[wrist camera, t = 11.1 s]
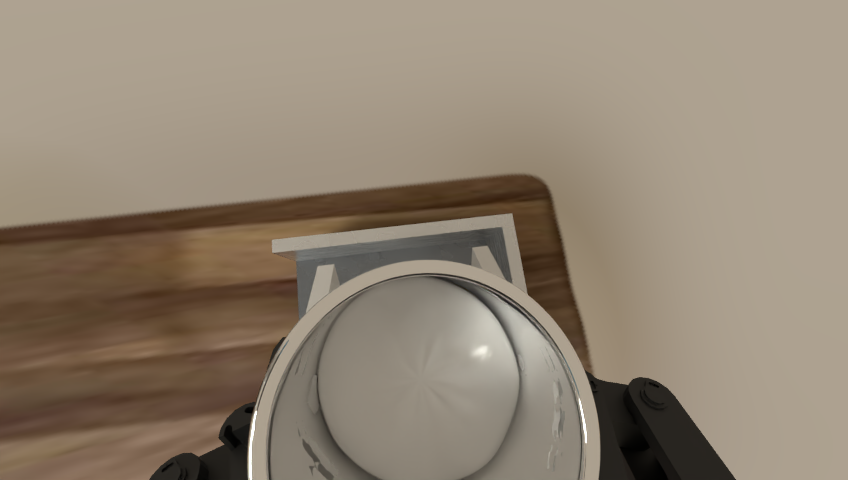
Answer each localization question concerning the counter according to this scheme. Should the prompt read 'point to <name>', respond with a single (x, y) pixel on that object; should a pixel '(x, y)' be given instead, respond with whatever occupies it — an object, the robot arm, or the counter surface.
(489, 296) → the beer glass
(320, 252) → the tray
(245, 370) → the counter surface
